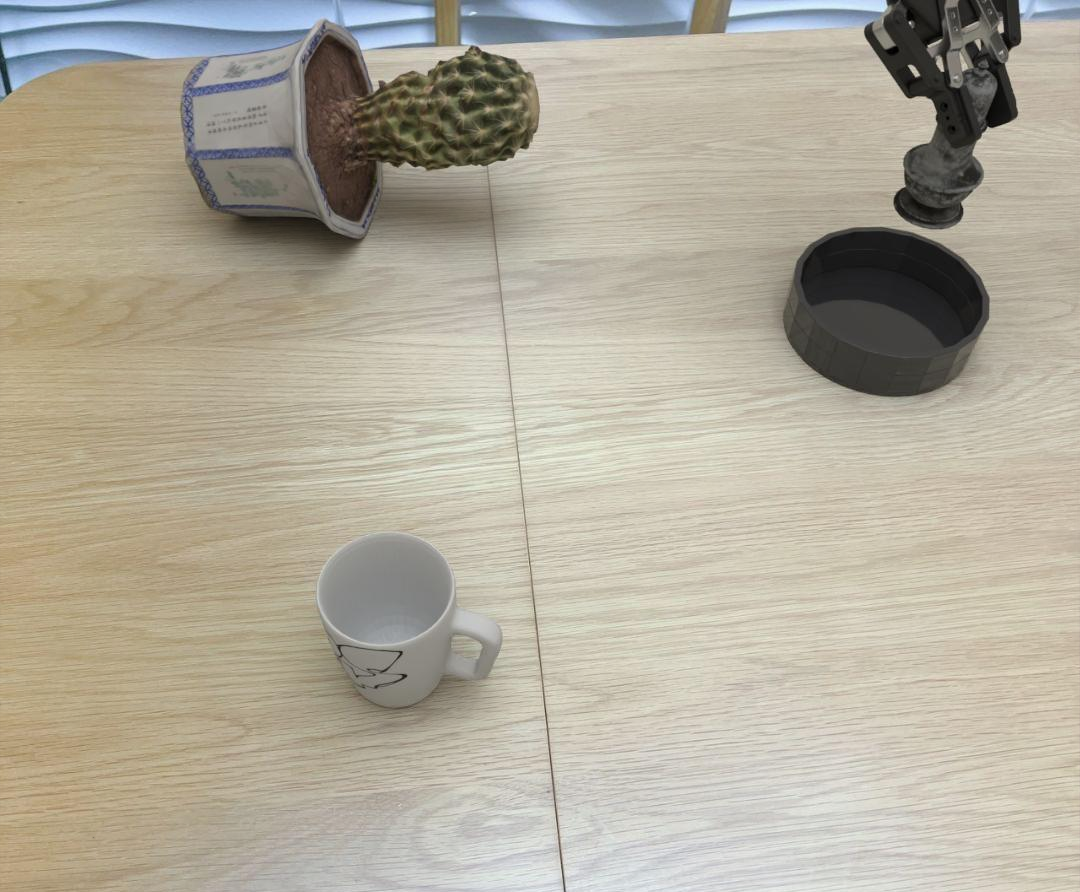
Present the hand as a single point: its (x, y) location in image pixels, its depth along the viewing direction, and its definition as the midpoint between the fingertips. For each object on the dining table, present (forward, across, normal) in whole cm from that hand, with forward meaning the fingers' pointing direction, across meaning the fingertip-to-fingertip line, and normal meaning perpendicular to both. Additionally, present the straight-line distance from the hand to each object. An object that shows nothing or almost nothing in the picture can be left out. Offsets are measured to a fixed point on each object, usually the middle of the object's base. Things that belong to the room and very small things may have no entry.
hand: (985, 132), depth 76 cm
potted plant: (-14, -25, +45) cm, 53 cm away
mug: (+15, -50, +15) cm, 54 cm away
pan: (+13, +1, +17) cm, 21 cm away
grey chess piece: (+4, 0, +7) cm, 8 cm away
